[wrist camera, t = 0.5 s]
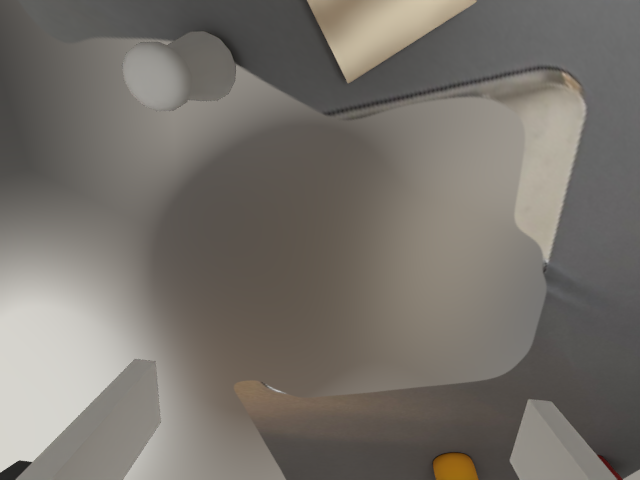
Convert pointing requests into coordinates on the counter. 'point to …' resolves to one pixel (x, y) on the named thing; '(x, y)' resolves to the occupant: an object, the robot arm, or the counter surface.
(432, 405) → the counter surface
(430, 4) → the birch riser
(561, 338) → the counter surface
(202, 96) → the salt shaker
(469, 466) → the beer bottle
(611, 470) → the plastic cup
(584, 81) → the counter surface
